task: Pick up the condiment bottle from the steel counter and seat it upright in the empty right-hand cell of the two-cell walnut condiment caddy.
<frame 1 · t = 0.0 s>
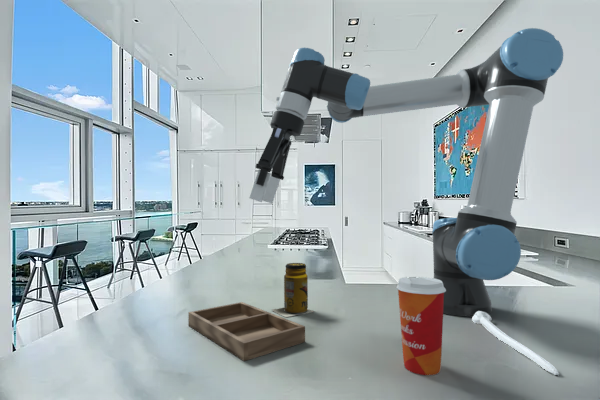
hand: (261, 201, 83), 28 cm above the countertop, tool tilted 20°, fingers open, 13 cm apart
white nail: (512, 345, 67), on the countertop
caddy: (242, 333, 73), on the countertop
paper cup: (422, 369, 57), on the countertop
condiment: (292, 312, 89), on the countertop
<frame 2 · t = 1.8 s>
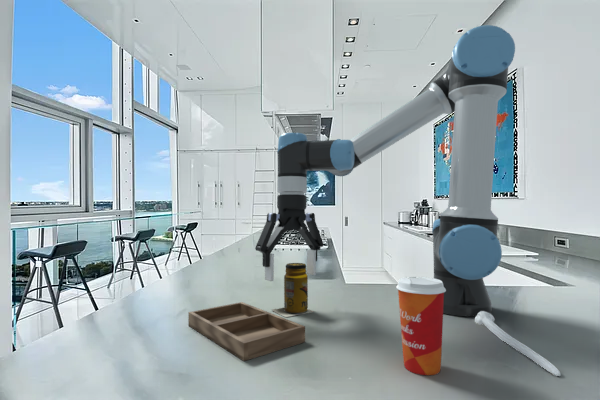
hand: (291, 277, 90), 9 cm above the countertop, tool pointing down, fingers open, 13 cm apart
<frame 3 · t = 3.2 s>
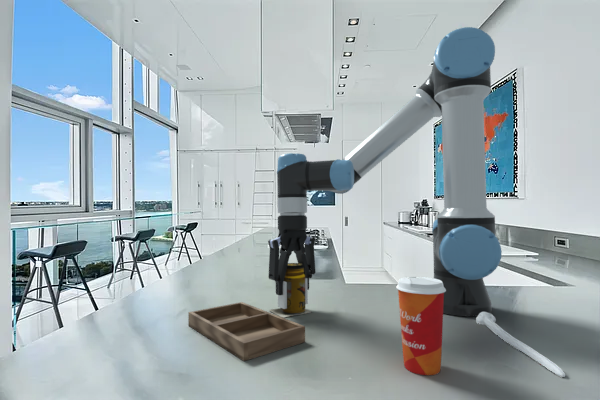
hand: (293, 305, 90), 2 cm above the countertop, tool pointing down, fingers closed on condiment, 6 cm apart
condiment: (290, 312, 89), on the countertop, touching gripper
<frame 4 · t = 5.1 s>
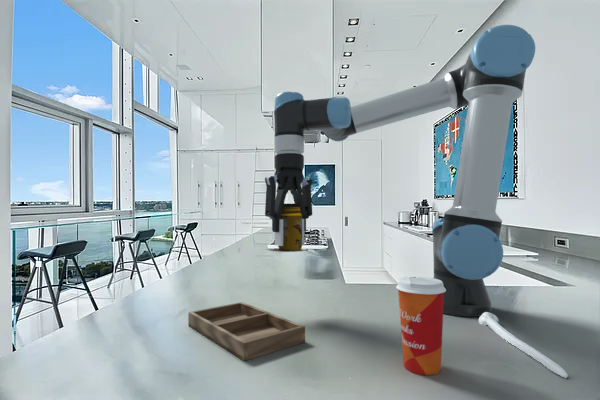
hand: (289, 244, 90), 17 cm above the countertop, tool pointing down, fingers closed on condiment, 6 cm apart
condiment: (286, 251, 89), point 15 cm above the countertop, touching gripper
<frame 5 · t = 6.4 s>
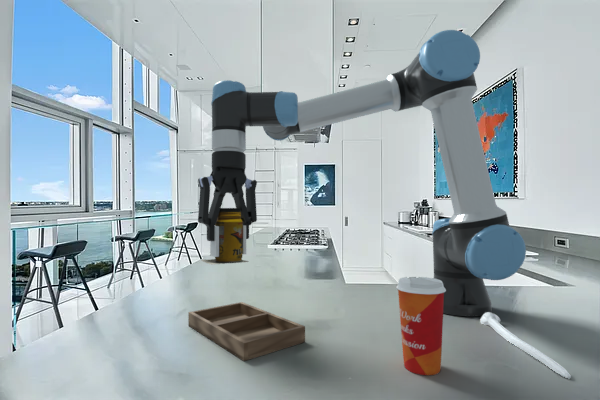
hand: (228, 254, 79), 16 cm above the countertop, tool pointing down, fingers closed on condiment, 6 cm apart
condiment: (224, 262, 78), point 14 cm above the countertop, touching gripper
when the fingers open (4 cm above the countertop, at t = 8.4 s): condiment drops 1 cm, resting on caddy.
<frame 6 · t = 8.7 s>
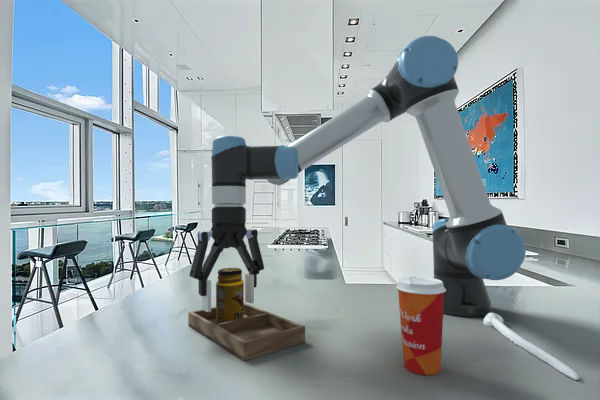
hand: (229, 306, 78), 4 cm above the countertop, tool pointing down, fingers open, 10 cm apart
condiment: (225, 325, 78), resting on caddy
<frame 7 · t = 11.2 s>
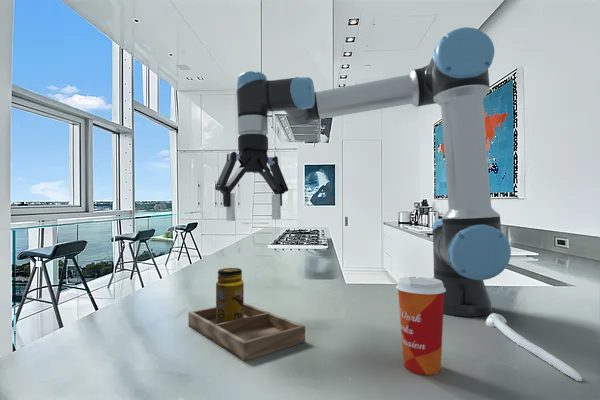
hand: (254, 220, 88), 23 cm above the countertop, tool pointing down, fingers open, 13 cm apart
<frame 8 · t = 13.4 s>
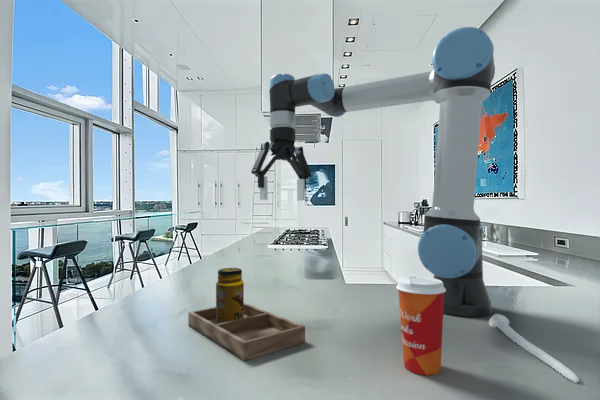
hand: (283, 200, 103), 29 cm above the countertop, tool pointing down, fingers open, 13 cm apart
at the end: condiment 0.7 cm from the target spot on the caddy, point 0.4 cm above the caddy's base; condiment tilted 0°; the gripper is holding nothing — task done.
